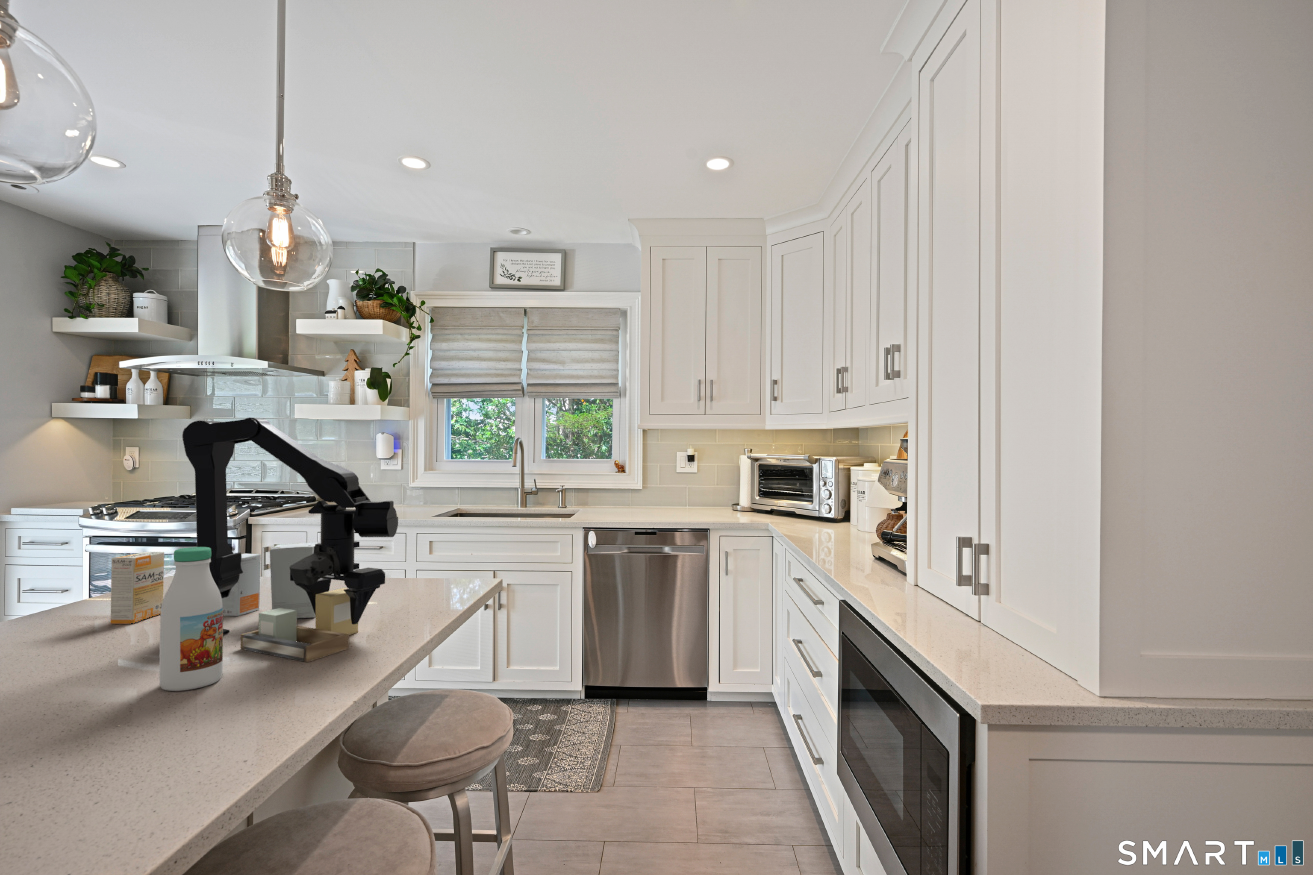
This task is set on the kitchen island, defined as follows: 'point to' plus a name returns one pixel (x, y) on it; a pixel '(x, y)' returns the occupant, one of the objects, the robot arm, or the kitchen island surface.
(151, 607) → the supplement box
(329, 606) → the ochre carton
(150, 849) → the kitchen island surface
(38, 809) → the kitchen island surface
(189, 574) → the milk bottle
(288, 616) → the sage carton
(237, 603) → the skincare box
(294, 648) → the tray
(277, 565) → the skincare box
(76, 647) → the kitchen island surface
